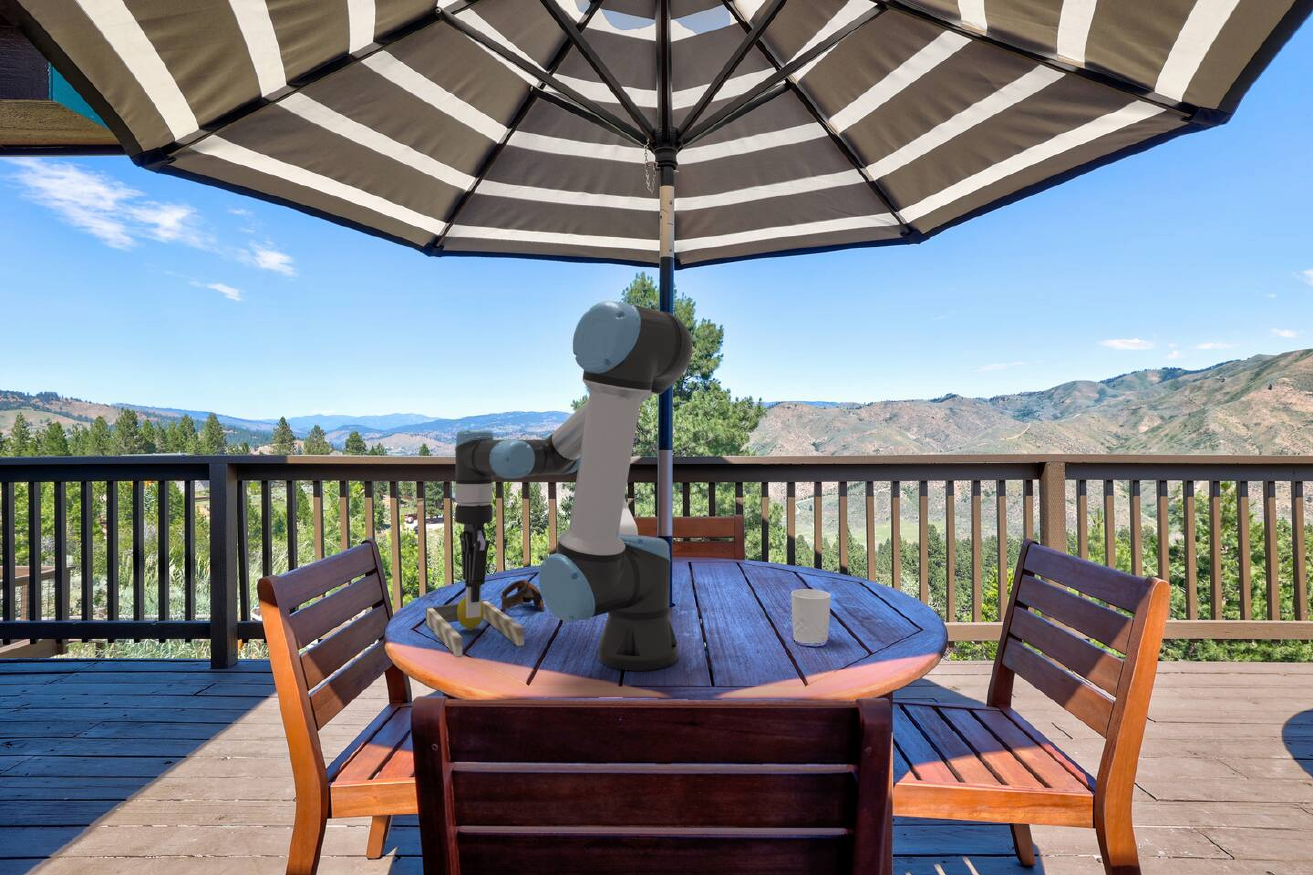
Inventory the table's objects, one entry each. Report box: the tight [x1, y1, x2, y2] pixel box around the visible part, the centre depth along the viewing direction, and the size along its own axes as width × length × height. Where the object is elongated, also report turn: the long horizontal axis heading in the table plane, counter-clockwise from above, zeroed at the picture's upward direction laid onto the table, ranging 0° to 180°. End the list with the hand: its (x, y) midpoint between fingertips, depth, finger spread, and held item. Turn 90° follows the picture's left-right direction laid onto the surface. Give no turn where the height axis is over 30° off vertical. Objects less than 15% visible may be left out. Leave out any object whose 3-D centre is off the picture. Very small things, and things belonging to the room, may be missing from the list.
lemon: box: [457, 595, 484, 632], centre depth 140 cm, size 6×6×8 cm
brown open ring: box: [500, 579, 545, 612], centre depth 158 cm, size 12×10×8 cm
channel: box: [425, 599, 525, 658], centre depth 138 cm, size 25×13×4 cm, turn 32°
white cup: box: [790, 588, 832, 644], centre depth 135 cm, size 8×8×10 cm
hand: (473, 616), depth 137 cm, fingers closed
